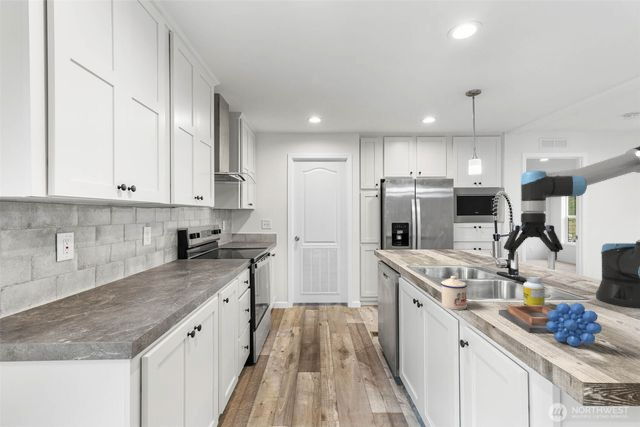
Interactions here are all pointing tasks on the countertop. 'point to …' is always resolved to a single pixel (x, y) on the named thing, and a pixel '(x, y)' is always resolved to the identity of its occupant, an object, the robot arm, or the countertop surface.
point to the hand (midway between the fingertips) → (532, 268)
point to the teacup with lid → (454, 294)
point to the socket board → (528, 317)
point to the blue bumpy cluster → (573, 324)
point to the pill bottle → (533, 291)
